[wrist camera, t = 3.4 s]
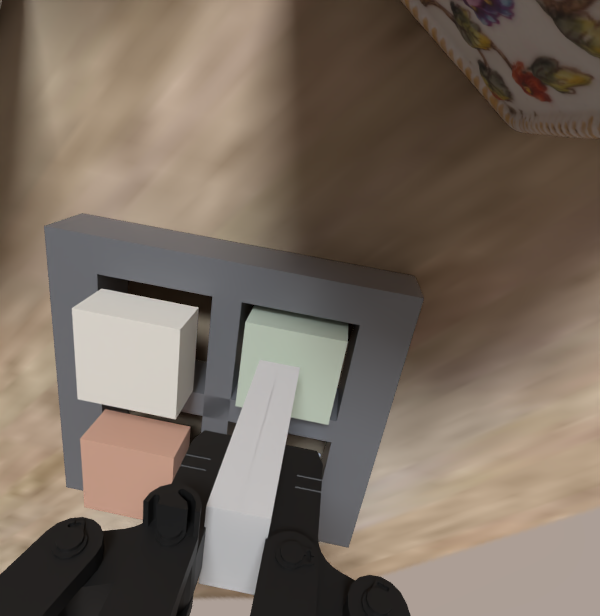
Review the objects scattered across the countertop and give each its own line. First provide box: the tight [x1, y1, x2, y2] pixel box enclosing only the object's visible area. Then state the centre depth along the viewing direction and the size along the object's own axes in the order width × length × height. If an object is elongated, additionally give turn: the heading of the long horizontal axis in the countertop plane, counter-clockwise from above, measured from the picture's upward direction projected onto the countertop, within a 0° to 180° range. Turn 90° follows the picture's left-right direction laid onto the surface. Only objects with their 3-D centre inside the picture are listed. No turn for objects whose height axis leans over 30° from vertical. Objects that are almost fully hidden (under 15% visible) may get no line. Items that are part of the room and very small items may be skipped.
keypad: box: [44, 213, 424, 547], centre depth 21 cm, size 15×14×3 cm
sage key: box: [235, 305, 348, 425], centre depth 19 cm, size 4×4×3 cm
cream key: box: [72, 289, 199, 419], centre depth 18 cm, size 4×4×3 cm
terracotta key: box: [80, 409, 190, 520], centre depth 20 cm, size 4×4×3 cm
